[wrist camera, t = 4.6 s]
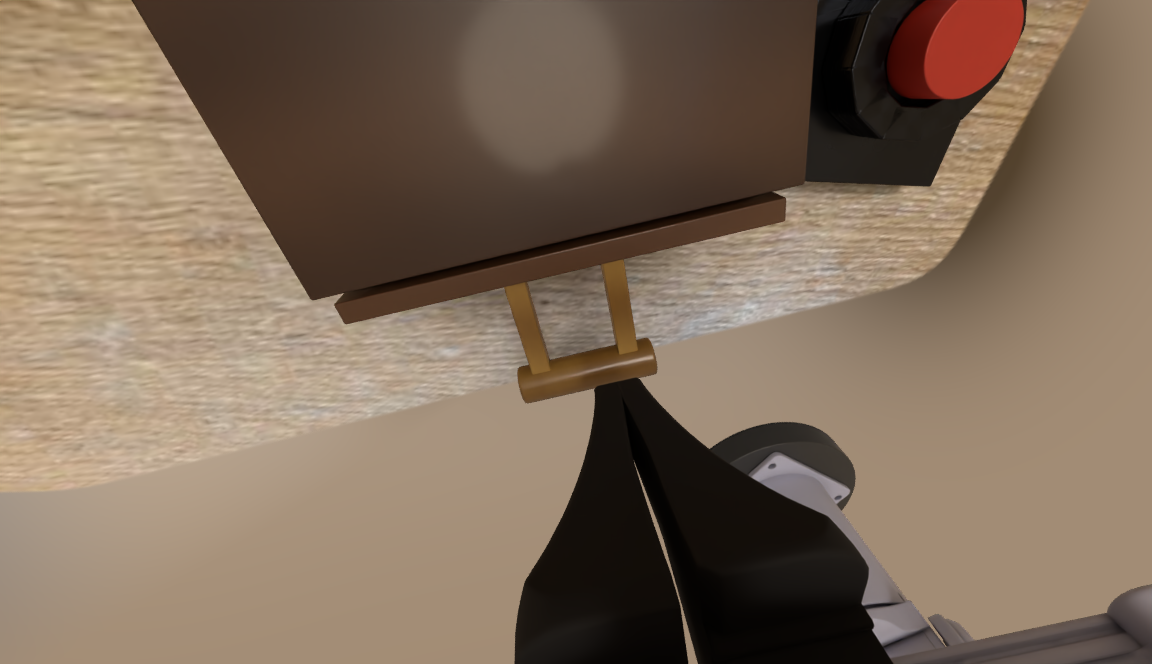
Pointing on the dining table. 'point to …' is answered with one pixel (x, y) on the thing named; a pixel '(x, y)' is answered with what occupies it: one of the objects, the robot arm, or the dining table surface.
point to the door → (564, 257)
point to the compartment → (487, 118)
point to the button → (953, 47)
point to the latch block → (873, 102)
